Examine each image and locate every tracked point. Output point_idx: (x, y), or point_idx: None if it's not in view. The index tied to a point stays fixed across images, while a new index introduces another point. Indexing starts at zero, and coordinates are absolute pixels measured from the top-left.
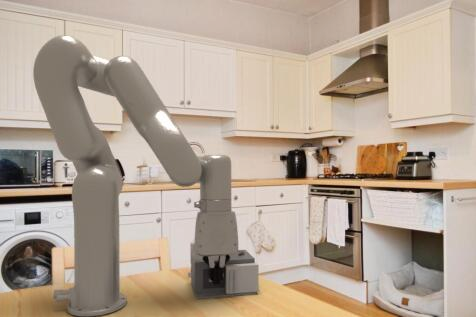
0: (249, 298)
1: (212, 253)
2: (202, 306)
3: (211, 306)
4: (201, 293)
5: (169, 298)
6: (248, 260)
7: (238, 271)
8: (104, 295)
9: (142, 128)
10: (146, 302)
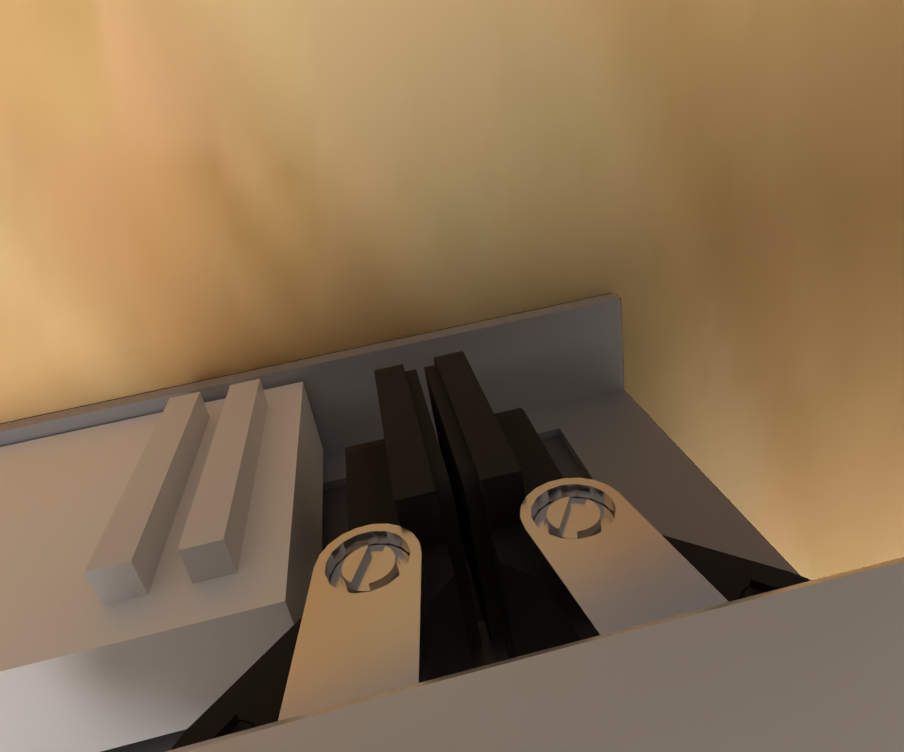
0: (21, 308)
1: (766, 641)
2: (557, 82)
3: (458, 73)
4: (561, 403)
5: (838, 320)
6: None
7: (79, 584)
8: None
9: None
10: None
